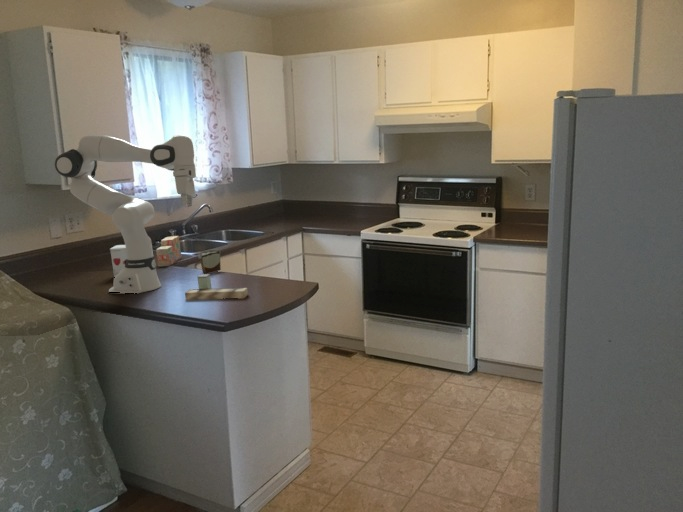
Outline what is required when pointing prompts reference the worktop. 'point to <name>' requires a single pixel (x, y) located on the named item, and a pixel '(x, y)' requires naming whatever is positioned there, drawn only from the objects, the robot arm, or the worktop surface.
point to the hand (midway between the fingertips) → (187, 206)
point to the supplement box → (118, 258)
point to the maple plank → (216, 293)
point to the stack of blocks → (168, 251)
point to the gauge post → (204, 281)
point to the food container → (210, 261)
